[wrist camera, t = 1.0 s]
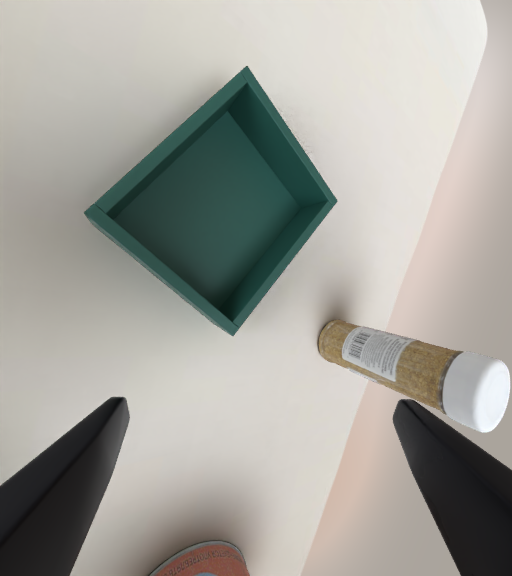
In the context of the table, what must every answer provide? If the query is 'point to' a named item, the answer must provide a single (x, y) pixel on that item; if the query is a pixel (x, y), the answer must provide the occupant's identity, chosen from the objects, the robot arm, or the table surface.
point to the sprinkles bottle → (423, 372)
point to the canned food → (205, 561)
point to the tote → (219, 204)
